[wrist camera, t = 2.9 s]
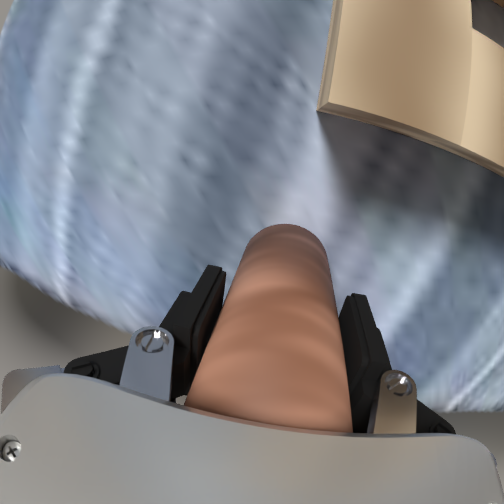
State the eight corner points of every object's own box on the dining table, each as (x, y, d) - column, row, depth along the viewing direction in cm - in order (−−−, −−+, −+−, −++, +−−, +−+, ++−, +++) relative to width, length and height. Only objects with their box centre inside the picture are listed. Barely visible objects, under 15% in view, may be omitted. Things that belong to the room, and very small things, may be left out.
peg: (337, 233, 15) (395, 469, 4) (315, 306, 16) (317, 521, 6) (249, 216, 15) (145, 435, 4) (238, 291, 17) (166, 497, 6)
